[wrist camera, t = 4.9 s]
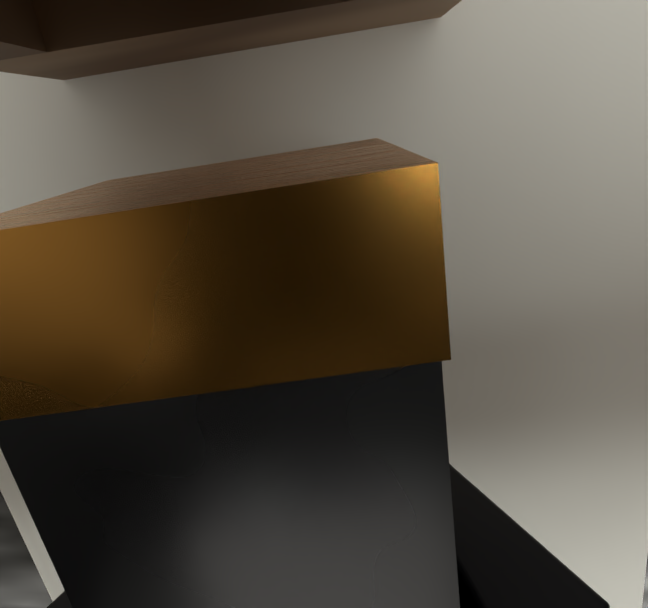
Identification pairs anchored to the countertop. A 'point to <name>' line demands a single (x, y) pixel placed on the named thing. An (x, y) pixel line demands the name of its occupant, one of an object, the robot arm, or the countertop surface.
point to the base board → (457, 223)
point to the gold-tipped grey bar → (235, 383)
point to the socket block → (176, 29)
